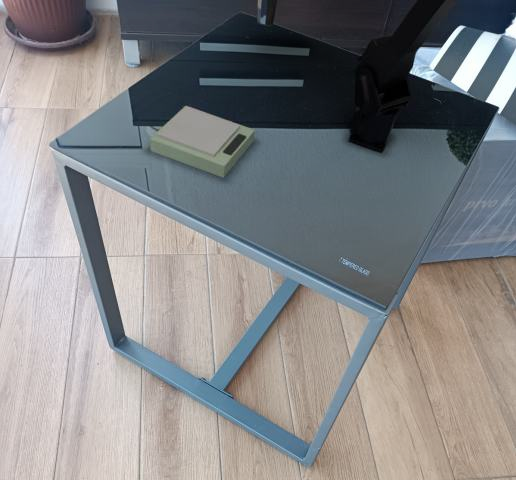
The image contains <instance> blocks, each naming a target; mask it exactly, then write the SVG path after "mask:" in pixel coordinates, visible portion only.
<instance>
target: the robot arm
mask: <svg viewBox="0 0 516 480" xmlns="http://www.w3.org/2000/svg"><path fill="white" fill-rule="evenodd" d="M458 1H459V0H416V1H415V2H414V3H413V4H412V6H411V7H410V9H409V10H408V11H407V12H406V14H405V16H404V17H403V18H402V20H401V21H400V22H399V24H398V25H397V26H396V28H395V30H394V31H393V32H392V33H391V34H388V35H384V36H380V37H379V36H378V37H376V38H372V39H371V40H370V41H369V43H368V44H367V46H366V48H365V50H364V52H363V53H362V54H361V55H360V56H359V57H357V58H356V60H357V62H358V63H357V64H356V66H355V70H354V75H355V78H354V105H355V106H356V107H357V108H356V110H355V112H354V116H353V118H352V122H351V127H350V129H349V133H350V135H349V138H348V141H349V142H350V143H353V144H356V145H359V146H362V147H364V148H367V149H371V150H373V151H377V152H379V153H384V151H385V149H386V147H387V145H388V144H389V141H390V140H391V136H392V131H393V128H394V125H395V123H396V119H397V118H398V114H399V111H400V110H401V109H402V108H406V107H407V106H408V105H409V104H410V103H411V101H412V100H413V98H414V95H413V92H412V87H411V84H410V80H409V75H410V73H411V71H412V70H413V68H414V65H415V59H416V55H417V53H418V50H420V49H421V48H422V46H423V45H424V43H425V42H426V41H427V40H428V38H429V37H430V36H432V34H433V32H434V31H435V30H436V28H437V27H438V26H439V25H440V24H441V22H442V21H443V20H444V19H445V17H446V16H447V15H448V13H450V11H451V10H452V9H453V8H454V6H455V5H456V4H457V2H458Z"/></svg>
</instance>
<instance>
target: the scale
mask: <svg viewBox="0 0 516 480" xmlns="http://www.w3.org/2000/svg"><path fill="white" fill-rule="evenodd" d="M255 133H256V129H254V128H251V127H248V126H245V125H242V124H239V123H236V122H234V121H231V120H227V119H225V118H222V117H220V116H217V115H213V114H211V113H208V112H205V111H202V110H200V109H197V108H194V107H191V106H188V105H185V106H183V107H182V108H181V109H180V110H179V111H178V112H177V113H176V114H175V115H173V116H172V118H170V120H169V121H167V122H166V123H165V124H164V125H163V126H162V127H161V128H160V129H158V130H157V131H155V133H154V134H153V135H152V136H151V137H149V146H150V147H149V149H150V152H152V153H154V154H158V155H160V156H163V157H166V158H168V159H171V160H174V161H176V162H179V163H182V164H185V165H187V166H190V167H192V168H195V169H198V170H201V171H203V172H206V173H209V174H212V175H214V176H217V177H219V178H222V179H224V178H225V177H226V176H227V174H228V173H229V172H230V171H231V170H232V169H233V167H234V166H235V165H236V164H237V162H238V161H239V160H240V159H241V158H242V157H243V155H244V154H245V153H246V151H247V150H248V149H249V148H250V147H251V145H252V144H253V143H254V140H255Z"/></svg>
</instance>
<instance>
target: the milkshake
mask: <svg viewBox="0 0 516 480" xmlns="http://www.w3.org/2000/svg"><path fill="white" fill-rule="evenodd" d="M277 5H278V0H257V18H256V21H257V23H258V25H261V26H263V27H270V26H273V25H274V22H275V17H276V10H277Z"/></svg>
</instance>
